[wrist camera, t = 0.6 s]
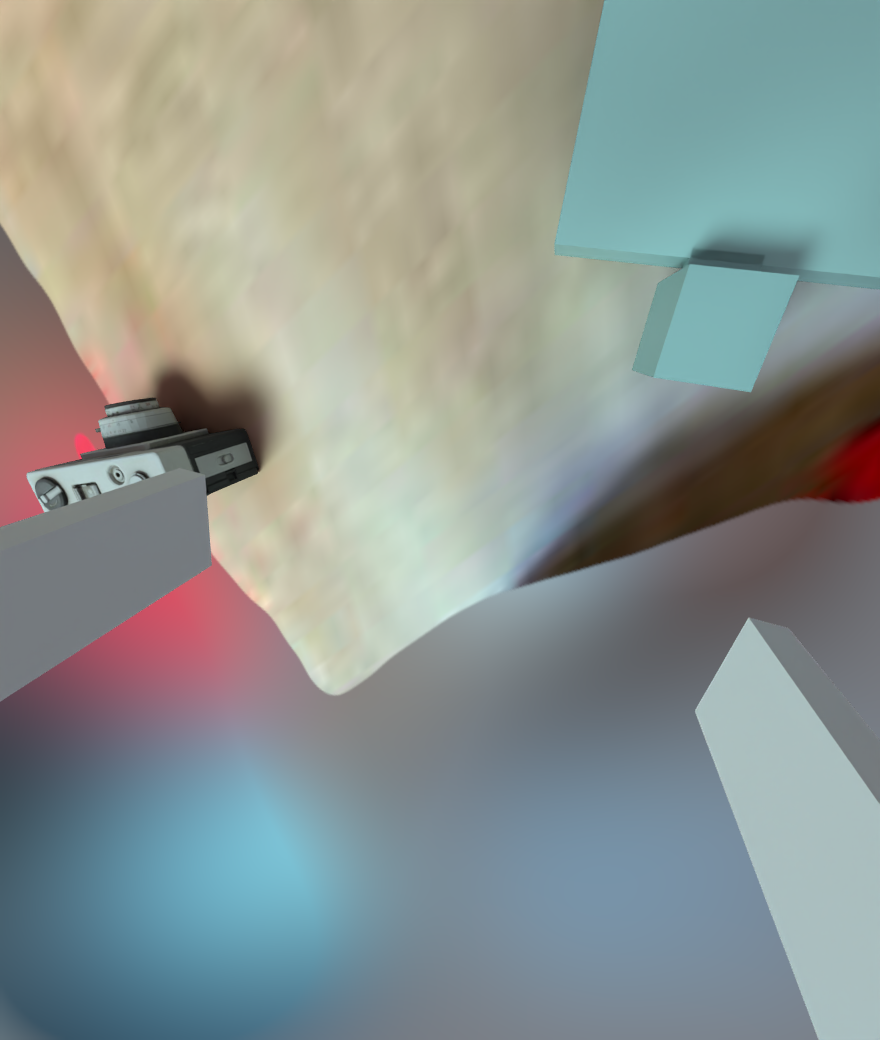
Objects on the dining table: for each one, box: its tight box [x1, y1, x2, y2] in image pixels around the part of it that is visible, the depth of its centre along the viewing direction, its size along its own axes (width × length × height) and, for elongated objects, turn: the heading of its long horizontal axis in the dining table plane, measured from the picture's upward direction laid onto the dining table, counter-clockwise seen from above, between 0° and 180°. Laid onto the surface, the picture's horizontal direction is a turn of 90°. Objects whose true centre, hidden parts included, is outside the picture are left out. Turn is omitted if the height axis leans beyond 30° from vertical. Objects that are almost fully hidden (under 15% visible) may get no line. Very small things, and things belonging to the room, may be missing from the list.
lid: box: [555, 0, 880, 392], centre depth 17 cm, size 23×15×6 cm, turn 172°
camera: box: [27, 398, 259, 512], centre depth 36 cm, size 14×8×10 cm, turn 100°
